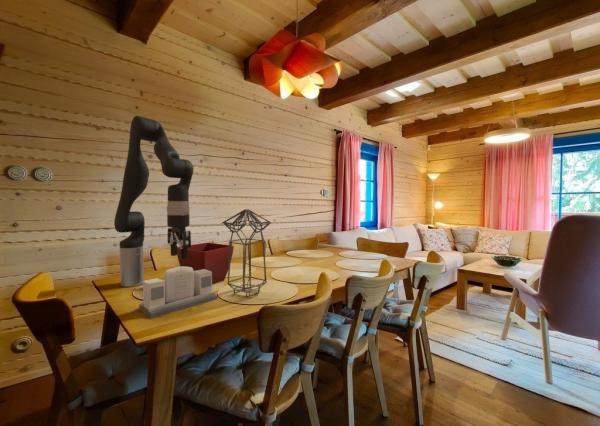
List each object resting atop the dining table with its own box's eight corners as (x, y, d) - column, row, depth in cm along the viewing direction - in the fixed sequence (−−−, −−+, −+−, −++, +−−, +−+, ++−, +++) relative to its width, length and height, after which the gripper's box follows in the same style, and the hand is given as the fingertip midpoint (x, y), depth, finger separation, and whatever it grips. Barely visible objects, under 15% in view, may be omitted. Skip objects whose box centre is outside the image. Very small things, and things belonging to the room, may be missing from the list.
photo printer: (192, 295, 109) (192, 264, 109) (195, 298, 106) (195, 266, 105) (163, 300, 103) (162, 267, 103) (165, 304, 100) (165, 270, 99)
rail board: (139, 308, 100) (138, 301, 100) (202, 292, 118) (201, 286, 117) (151, 318, 92) (151, 310, 92) (217, 299, 109) (217, 293, 109)
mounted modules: (143, 306, 98) (142, 280, 98) (204, 290, 115) (204, 269, 115) (150, 311, 94) (149, 284, 94) (212, 294, 111) (212, 271, 110)
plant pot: (235, 279, 136) (235, 245, 135) (203, 290, 120) (202, 251, 119) (208, 274, 146) (207, 242, 145) (175, 283, 130) (174, 247, 129)
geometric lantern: (247, 285, 127) (246, 208, 125) (273, 292, 118) (273, 209, 117) (219, 295, 114) (218, 209, 113) (247, 303, 105) (246, 210, 104)
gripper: (160, 213, 105) (160, 255, 106) (176, 214, 95) (177, 262, 96) (180, 212, 111) (180, 253, 111) (197, 214, 101) (197, 258, 102)
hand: (178, 257), depth 104 cm, fingers open, 8 cm apart
